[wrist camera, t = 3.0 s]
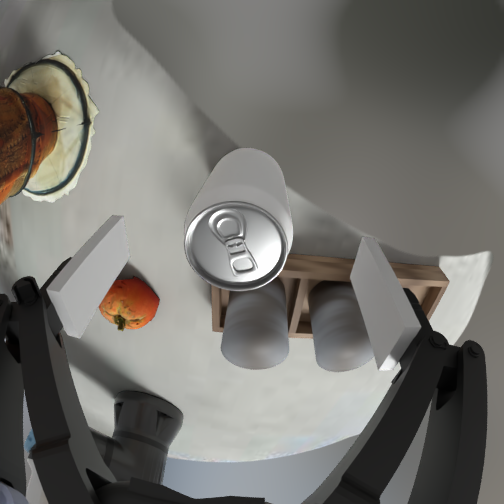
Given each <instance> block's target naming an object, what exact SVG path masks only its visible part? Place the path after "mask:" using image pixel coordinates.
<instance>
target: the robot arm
mask: <svg viewBox="0 0 504 504" xmlns="http://www.w3.org/2000/svg"><path fill="white" fill-rule="evenodd" d="M129 258H130V252H129V247H128V241H127V235H126V228H125V222H124V216H117V215H112V216H111V217H110V218H109V219H108V220H107V221H106V222H105V223H104V224H103V225H102V226H101V227H100V228H99V229H98V230H97V231H96V232H95V233H94V235H93V236H92V237H91V238H90V239H89V240H88V241H87V242H86V243H85V244H84V245H83V246H82V247H81V249H80V250H79V251H78V252H77V253H76V254H75V255H74V256H73V258H72V257H70V258H68V259H67V260H65V261H64V262H62V263H61V265H60V266H59V267H58V268H57V270H55V272H54V273H53V275H51V276H50V278H49V279H48V280H47V281H46V282H45V284H44V285H43V286H42V287H41V289H40V290H39V287H38V285H37V283H36V280H35V278H33V277H30V276H27V277H23V278H21V279H19V280H18V281H17V282H15V284H14V285H13V286H12V293H13V295H14V297H15V299H16V301H17V302H10V300H9V298H8V296H7V295H5V294H0V504H271V503H268V502H265V498H254V497H253V498H252V497H238V496H226V497H216V498H204V499H194V498H190V497H188V496H186V495H183V494H181V493H179V492H176V491H174V490H172V489H170V488H167V487H165V486H163V485H162V482H163V476H164V470H165V465H166V460H167V454H168V449H169V446H170V445H171V443H172V441H173V440H174V438H175V437H176V435H177V434H178V432H179V430H180V429H181V427H182V423H183V414H182V413H181V411H180V410H178V409H177V408H176V407H175V406H173V405H171V404H170V403H168V402H166V401H164V400H162V399H159V398H157V397H154V396H151V395H148V394H144V393H140V392H133V391H124V392H120V393H119V394H118V395H117V397H116V400H115V403H114V421H115V429H114V433H113V436H112V438H111V437H109V436H107V435H105V434H103V433H101V432H99V431H97V430H95V429H93V428H91V427H89V426H88V424H87V421H86V419H85V416H84V413H83V410H82V408H81V405H80V402H79V399H78V396H77V392H76V389H75V386H74V383H73V379H72V376H71V372H70V368H69V364H68V361H67V357H66V352H65V348H64V344H63V339H62V336H61V334H60V330H61V329H62V327H64V329H65V331H66V333H67V335H69V336H72V337H76V338H81V336H82V334H83V332H84V331H85V329H86V327H87V325H88V324H89V322H90V320H91V318H92V317H93V315H94V313H95V312H96V310H97V308H98V307H99V305H100V303H101V302H102V300H103V298H104V297H105V295H106V294H107V292H108V290H109V289H110V287H111V286H112V284H113V283H114V281H115V279H116V278H117V276H118V275H119V273H120V272H121V270H122V269H123V267H124V266H125V264H126V263H127V261H128V260H129ZM350 279H351V282H352V285H353V288H354V291H355V294H356V297H357V300H358V303H359V306H360V309H361V313H362V316H363V319H364V322H365V325H366V329H367V332H368V335H369V339H370V342H371V346H372V349H373V353H374V356H375V360H376V364H377V367H378V371H380V370H393V369H394V368H395V366H396V365H397V364H398V362H400V366H401V370H400V371H399V372H398V374H397V375H396V376H395V378H394V379H393V380H392V382H391V383H392V385H391V387H390V388H389V390H388V392H387V394H386V395H385V397H384V399H383V400H382V402H381V404H380V405H379V407H378V408H377V410H376V412H375V413H374V415H373V416H372V418H371V419H370V421H369V422H368V424H367V425H366V427H365V428H364V430H363V431H362V433H361V434H360V436H359V437H358V438H357V440H356V441H355V443H354V444H353V446H352V447H351V448H350V449H349V451H348V452H347V453H346V455H345V456H344V457H343V459H342V460H341V461H340V463H339V464H338V465H337V466H336V468H335V469H334V470H333V471H332V472H331V473H330V475H329V476H328V477H327V478H326V480H325V481H324V482H323V483H322V484H321V486H319V488H318V489H317V490H316V491H315V492H314V493H313V494H311V495H310V496H309V497H308V498H307V499H306V500H305V501H304V502H303V503H302V504H380V500H379V498H380V495H381V494H382V492H383V491H384V489H385V488H386V486H387V485H388V483H389V481H390V480H391V478H392V477H393V475H394V473H395V471H396V470H397V468H398V466H399V465H400V463H401V461H402V459H403V458H404V456H405V454H406V452H407V450H408V448H409V447H410V444H411V443H412V441H413V439H414V437H415V435H416V433H417V431H418V428H419V426H420V424H421V422H422V420H423V418H424V416H425V413H426V411H427V409H428V406H429V404H430V401H431V399H432V403H431V410H430V416H429V423H428V428H427V433H426V438H425V443H424V448H423V452H422V457H421V460H420V465H419V468H418V472H417V475H416V479H415V482H414V486H413V489H412V492H411V495H410V498H409V501H408V504H477V499H478V495H479V490H480V485H481V479H482V472H483V466H484V457H485V448H486V434H487V379H486V364H485V354H484V351H483V349H482V347H481V346H480V345H479V344H478V343H476V342H474V341H471V340H468V341H465V343H464V344H463V345H462V346H461V347H457V346H453V345H449V343H448V341H447V339H446V338H445V337H444V336H443V335H442V334H441V333H439V332H436V331H433V329H432V327H431V325H430V323H429V321H428V319H427V317H426V315H425V313H424V311H423V310H422V307H421V305H420V304H419V301H418V299H417V297H416V295H415V294H414V293H413V292H412V291H411V290H410V289H409V288H402V286H401V284H400V283H399V281H398V279H397V277H396V275H395V273H394V271H393V269H392V268H391V266H390V264H389V262H388V260H387V259H386V257H385V255H384V253H383V251H382V250H381V248H380V246H379V245H378V243H377V241H376V239H375V238H371V237H362V239H361V242H360V246H359V249H358V253H357V256H356V259H355V262H354V265H353V269H352V272H351V275H350ZM5 339H6V342H5ZM24 390H25V396H26V402H27V407H28V412H29V417H30V421H31V426H32V429H31V431H30V433H29V435H28V437H27V439H26V441H25V444H24V447H23V397H24ZM24 448H25V450H26V451H27V452H28V453H30V454H29V456H28V459H27V461H28V463H29V465H30V467H31V470H32V474H31V478H30V481H29V484H28V488H27V491H26V473H25V462H24Z"/></svg>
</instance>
